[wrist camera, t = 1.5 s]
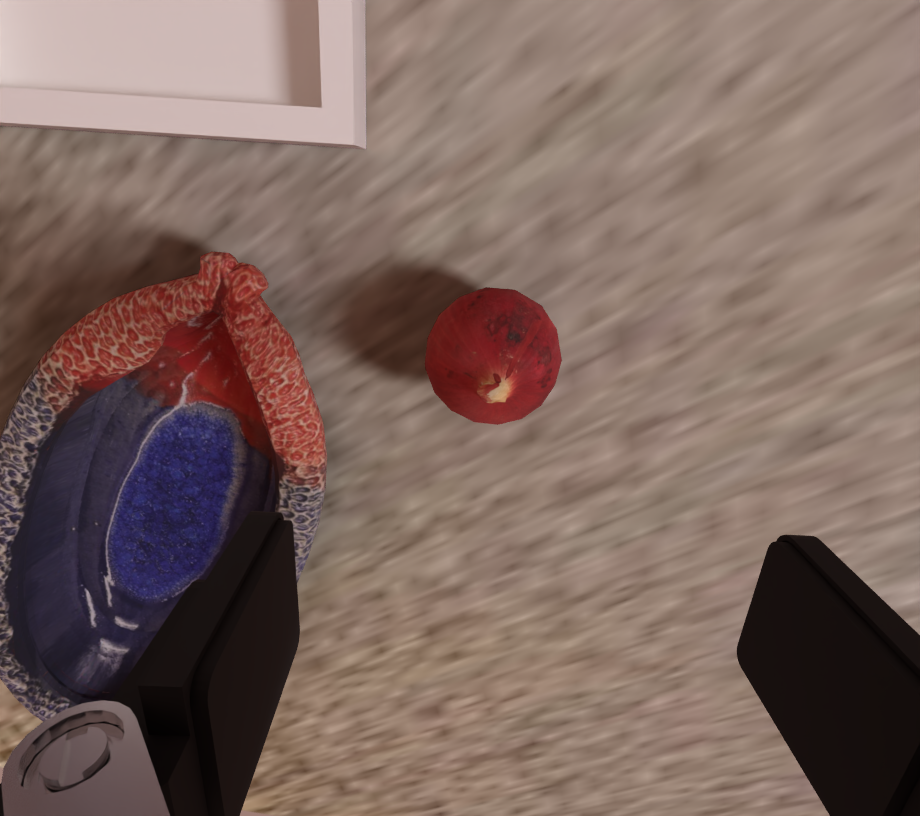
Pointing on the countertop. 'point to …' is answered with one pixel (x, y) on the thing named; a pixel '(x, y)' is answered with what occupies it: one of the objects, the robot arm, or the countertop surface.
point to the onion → (493, 356)
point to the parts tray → (187, 68)
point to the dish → (145, 473)
